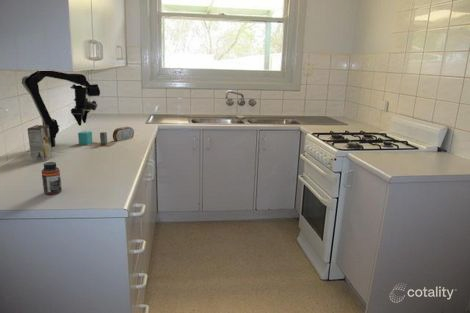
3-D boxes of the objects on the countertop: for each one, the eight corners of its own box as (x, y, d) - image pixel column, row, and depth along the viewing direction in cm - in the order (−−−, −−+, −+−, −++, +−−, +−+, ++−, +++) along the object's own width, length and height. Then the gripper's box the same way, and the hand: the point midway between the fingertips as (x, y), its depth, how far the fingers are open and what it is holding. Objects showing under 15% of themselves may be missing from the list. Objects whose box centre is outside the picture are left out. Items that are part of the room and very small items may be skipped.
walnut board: (108, 149, 200) (108, 147, 199) (75, 146, 202) (74, 144, 202) (116, 145, 208) (116, 143, 208) (83, 143, 211) (83, 141, 211)
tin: (131, 138, 227) (130, 125, 225) (135, 139, 226) (134, 126, 224) (112, 142, 215) (111, 128, 213) (116, 143, 213) (115, 129, 211)
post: (105, 145, 203) (104, 133, 201) (100, 145, 203) (99, 132, 201) (107, 144, 205) (106, 132, 204) (103, 144, 206) (102, 131, 204)
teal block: (87, 144, 203) (86, 133, 201) (79, 144, 204) (78, 132, 202) (92, 142, 208) (91, 131, 206) (84, 142, 209) (83, 131, 207)
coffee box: (39, 156, 181) (36, 124, 177) (52, 156, 182) (49, 125, 178) (30, 161, 172) (26, 128, 168) (44, 161, 173) (41, 128, 169)
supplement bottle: (43, 191, 135) (40, 161, 132) (60, 188, 138) (58, 160, 135) (44, 196, 130) (41, 166, 128) (62, 193, 133) (59, 164, 130)
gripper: (91, 98, 195) (93, 127, 199) (99, 95, 213) (100, 121, 217) (69, 98, 194) (71, 127, 198) (79, 95, 212) (81, 121, 216)
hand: (82, 124), depth 207 cm, fingers open, 9 cm apart
